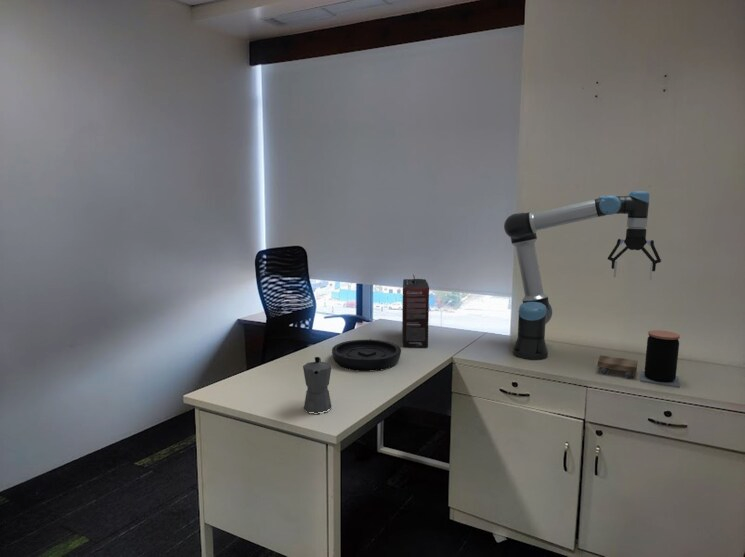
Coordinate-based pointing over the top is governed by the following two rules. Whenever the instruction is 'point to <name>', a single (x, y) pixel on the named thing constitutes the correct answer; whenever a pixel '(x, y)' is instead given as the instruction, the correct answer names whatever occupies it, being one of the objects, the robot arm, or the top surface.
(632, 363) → the brown toy cart
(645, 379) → the pad
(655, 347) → the coffee jar
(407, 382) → the top surface
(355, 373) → the top surface
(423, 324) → the headset box
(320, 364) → the coffeepot
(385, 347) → the round tray
